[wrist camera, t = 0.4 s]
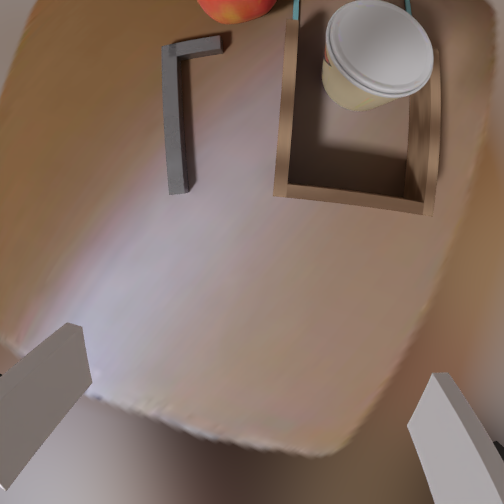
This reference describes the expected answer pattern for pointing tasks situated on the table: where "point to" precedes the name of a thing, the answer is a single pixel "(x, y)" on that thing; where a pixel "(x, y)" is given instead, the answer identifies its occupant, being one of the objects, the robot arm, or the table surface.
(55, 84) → the table surface
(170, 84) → the crook tool
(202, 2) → the apple
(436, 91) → the cubby
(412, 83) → the coffee cup
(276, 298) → the table surface
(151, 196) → the table surface
